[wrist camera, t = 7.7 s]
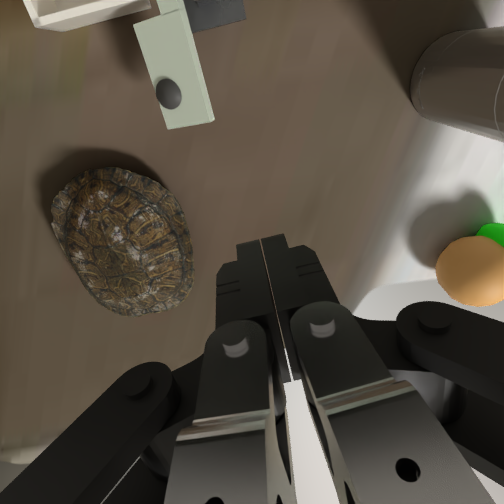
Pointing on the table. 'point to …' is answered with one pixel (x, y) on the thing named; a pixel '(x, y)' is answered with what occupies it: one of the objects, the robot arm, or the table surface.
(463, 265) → the green and tan spheres
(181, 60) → the lever
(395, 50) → the table surface
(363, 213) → the table surface
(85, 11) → the white open box
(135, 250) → the turtle shell
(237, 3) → the fulcrum
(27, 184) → the table surface
